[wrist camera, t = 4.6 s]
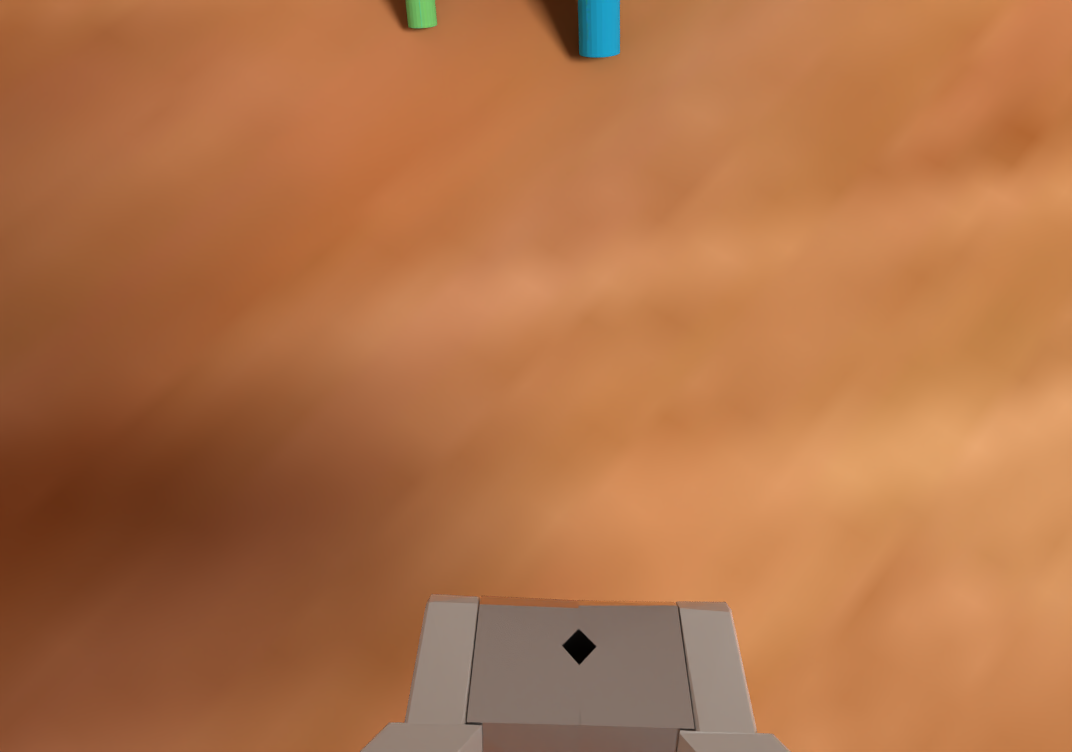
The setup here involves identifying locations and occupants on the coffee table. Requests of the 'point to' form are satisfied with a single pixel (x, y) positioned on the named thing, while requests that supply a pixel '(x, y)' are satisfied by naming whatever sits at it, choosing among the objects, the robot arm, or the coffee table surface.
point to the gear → (593, 19)
